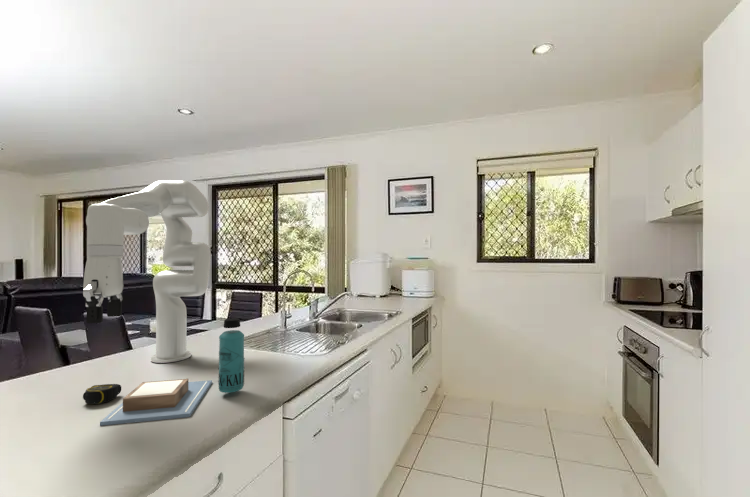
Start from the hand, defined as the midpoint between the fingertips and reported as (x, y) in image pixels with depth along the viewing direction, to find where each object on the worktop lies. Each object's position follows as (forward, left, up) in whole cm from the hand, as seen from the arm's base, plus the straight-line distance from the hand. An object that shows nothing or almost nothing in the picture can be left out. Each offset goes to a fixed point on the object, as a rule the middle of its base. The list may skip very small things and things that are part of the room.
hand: (105, 319), depth 91 cm
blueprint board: (+4, +15, -21) cm, 26 cm away
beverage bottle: (+3, +31, -21) cm, 38 cm away
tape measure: (-1, -1, -21) cm, 21 cm away
